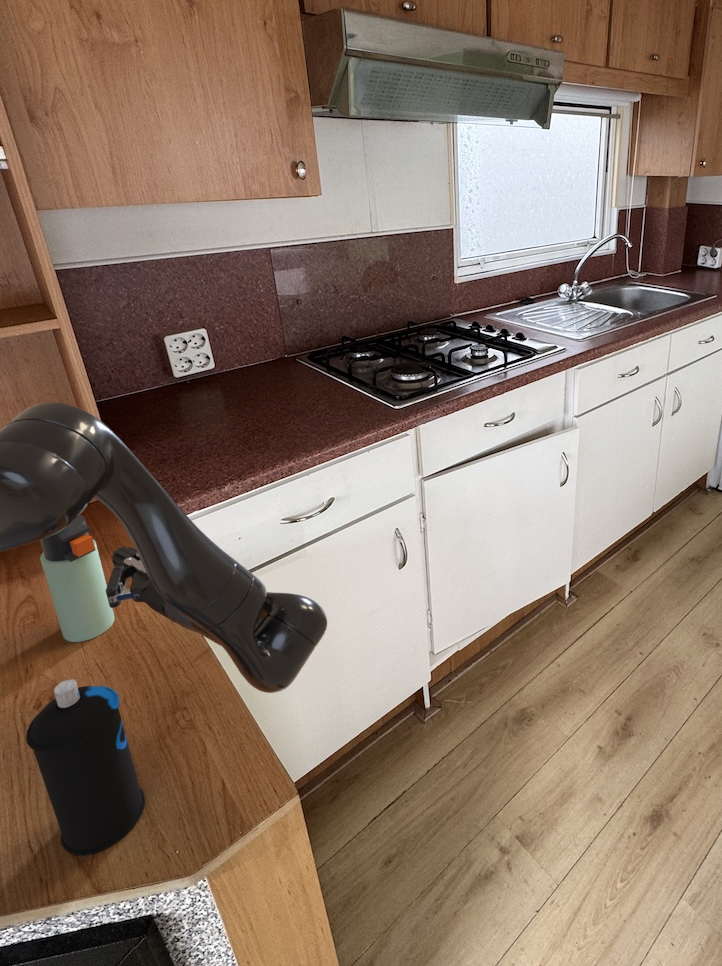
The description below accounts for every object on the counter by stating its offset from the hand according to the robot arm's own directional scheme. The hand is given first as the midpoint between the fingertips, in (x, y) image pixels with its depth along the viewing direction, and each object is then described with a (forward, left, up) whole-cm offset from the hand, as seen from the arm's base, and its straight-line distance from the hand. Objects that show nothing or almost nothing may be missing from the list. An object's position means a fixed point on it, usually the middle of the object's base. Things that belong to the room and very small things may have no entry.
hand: (118, 554), depth 83 cm
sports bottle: (-10, +12, -20) cm, 25 cm away
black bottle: (0, -25, -20) cm, 32 cm away
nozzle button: (-7, +8, -3) cm, 11 cm away
